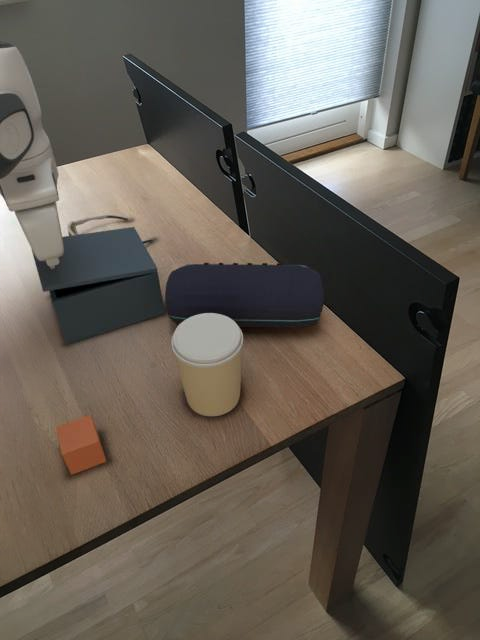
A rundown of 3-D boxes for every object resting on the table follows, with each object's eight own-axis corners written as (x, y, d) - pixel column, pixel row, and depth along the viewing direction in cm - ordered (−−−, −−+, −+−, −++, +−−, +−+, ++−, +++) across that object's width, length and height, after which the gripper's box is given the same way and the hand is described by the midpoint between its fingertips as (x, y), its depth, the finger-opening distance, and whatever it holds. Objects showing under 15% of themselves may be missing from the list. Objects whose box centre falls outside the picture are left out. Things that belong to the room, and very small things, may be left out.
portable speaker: (320, 300, 92) (324, 252, 86) (323, 340, 85) (327, 291, 78) (175, 298, 94) (168, 251, 87) (166, 338, 87) (157, 289, 80)
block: (71, 475, 68) (61, 454, 65) (64, 447, 72) (55, 426, 69) (106, 461, 70) (99, 440, 67) (98, 435, 73) (91, 414, 70)
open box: (67, 344, 86) (52, 302, 81) (52, 296, 96) (38, 255, 90) (165, 313, 91) (157, 272, 85) (142, 271, 101) (134, 230, 95)
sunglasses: (59, 241, 109) (55, 218, 106) (126, 224, 117) (125, 203, 114) (88, 273, 100) (86, 250, 97) (159, 253, 108) (159, 231, 105)
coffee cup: (254, 379, 79) (252, 318, 71) (233, 428, 73) (228, 368, 65) (195, 365, 82) (187, 305, 74) (170, 412, 75) (158, 352, 67)
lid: (43, 292, 79) (38, 264, 76) (30, 245, 88) (25, 219, 85) (157, 272, 85) (157, 246, 82) (134, 230, 95) (133, 205, 92)
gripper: (-8, 145, 80) (20, 225, 89) (7, 207, 66) (38, 294, 75) (35, 136, 82) (58, 216, 91) (59, 195, 68) (83, 282, 77)
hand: (49, 252), depth 83 cm, fingers closed on lid, 5 cm apart
